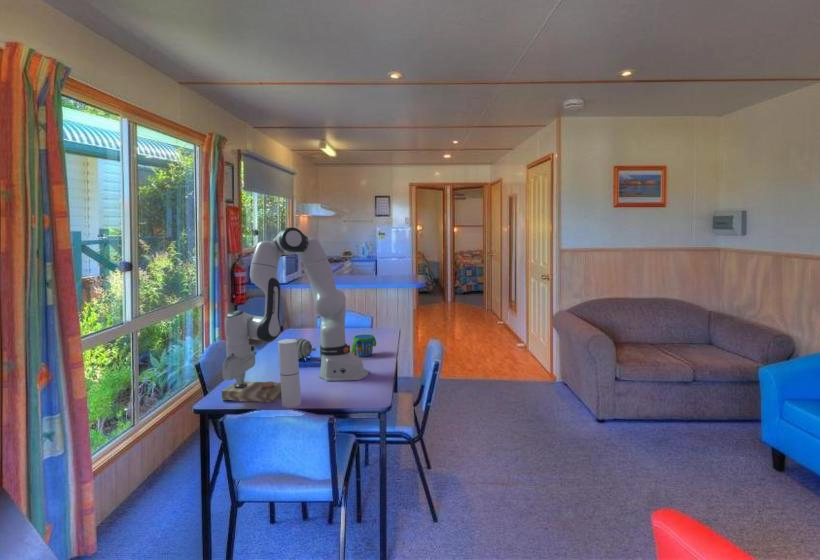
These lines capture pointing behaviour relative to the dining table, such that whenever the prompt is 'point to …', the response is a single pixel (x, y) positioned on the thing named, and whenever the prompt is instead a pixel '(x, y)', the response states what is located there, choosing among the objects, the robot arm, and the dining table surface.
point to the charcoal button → (240, 385)
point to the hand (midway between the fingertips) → (240, 383)
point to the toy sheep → (304, 348)
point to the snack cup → (363, 345)
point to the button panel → (252, 392)
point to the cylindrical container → (289, 372)
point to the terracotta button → (267, 385)
